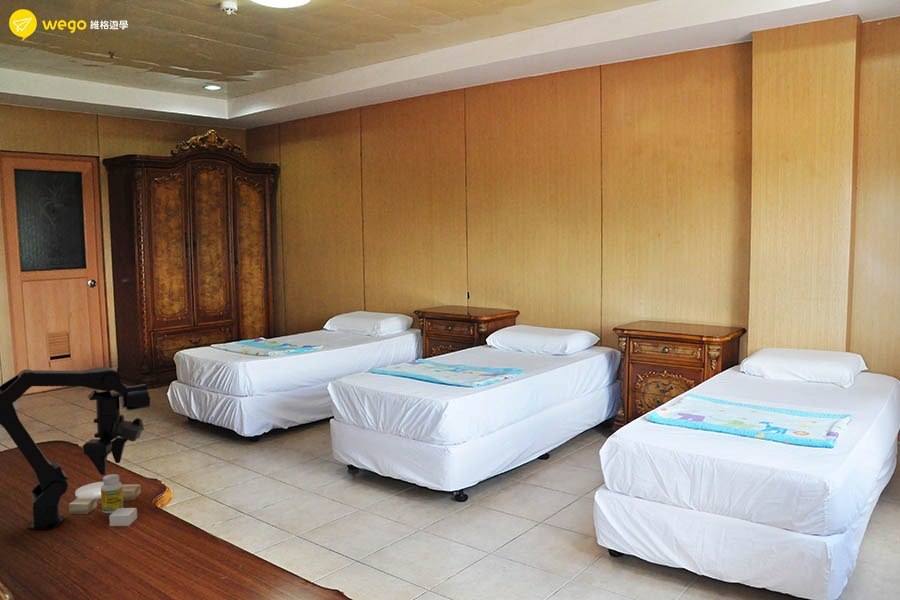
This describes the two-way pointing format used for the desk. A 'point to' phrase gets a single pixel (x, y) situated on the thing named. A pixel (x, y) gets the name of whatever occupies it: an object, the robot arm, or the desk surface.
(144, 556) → the desk surface
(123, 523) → the grey plastic block
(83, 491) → the cream saucer
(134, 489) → the oak block
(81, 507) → the birch block
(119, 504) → the supplement bottle
